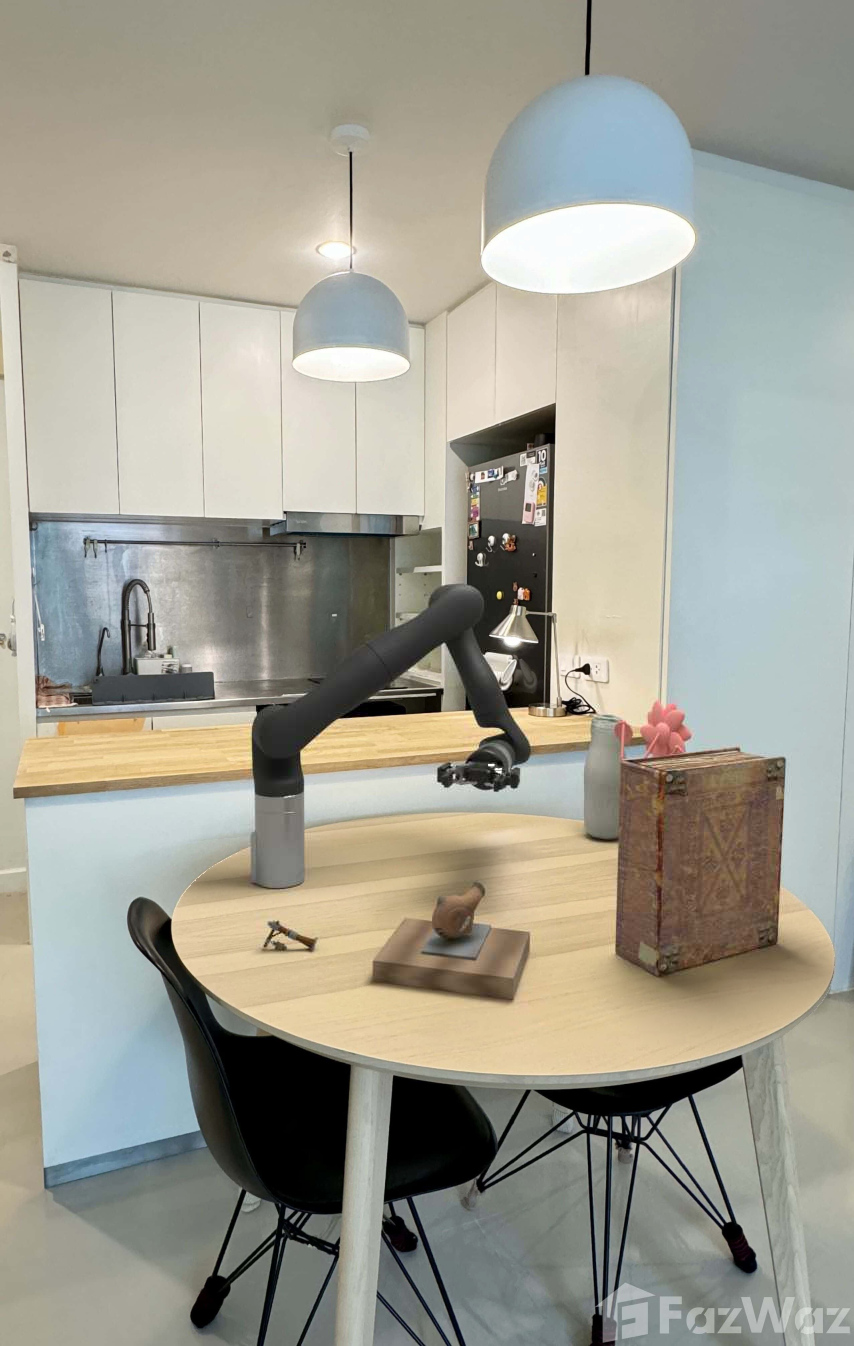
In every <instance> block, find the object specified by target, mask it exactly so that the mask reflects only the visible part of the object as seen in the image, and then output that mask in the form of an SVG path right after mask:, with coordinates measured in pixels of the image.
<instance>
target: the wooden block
mask: <svg viewBox="0 0 854 1346" xmlns="http://www.w3.org/2000/svg"><path fill="white" fill-rule="evenodd" d="M492 926H493V925H492V924H484V923H477V922H473V926H472V931H471V933H468V934H466V935H463V936H461V937H458V938H455V939H445V938H442V937H440V936H439V935H437V934H436V932H435V931H434V929H433V926H432V920H426V919H419V918H410V917H404V918H403V919H402V921H401V923H399V925H398V927H396V929H395V930H394V931H393V933H392V935H390V937H389V938H388V939H387V941H386V942H385V943H384V945H383V946H382V948H381V949H380V950H379V951H378V953H377V954H376V955H375V957H374V958H373V959H372V982H379V983H386V984H392V985H393V984H394V985H400V986H408V987H417V988H424V989H431V990H438V991H446V992H453V993H461V994H467V995H469V994H470V995H477V996H483V997H490V998H498V999H505V1000H512V1001H513V1000H514V999H515V995H516V993H517V990H518V987H519V984H520V981H521V979H522V978H521V977H522V974H523V972H524V969H525V967H526V963H527V960H528V958H529V954H530V950H531V949H530V948H531V947H530V946H531V932H530V931H526V930H525V931H524V930H516V929H509V928H508V929H506V928H499V927H492Z"/></svg>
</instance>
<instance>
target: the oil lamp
mask: <svg viewBox="0 0 854 1346" xmlns="http://www.w3.org/2000/svg"><path fill="white" fill-rule="evenodd" d="M485 895H486V888H485V887H484V885H483V884H482V883H481V882H478V881H474V882H473V884H472V885H471V887H470V888H469V889H468V890H467V891H466V892H465V893H464V894H462V895H454V894H453V895H447V896H445V895H440V896H439V897H438V899H437V901H436V902H437V903H436V906H435V908H434V910H433V913H432V916H431V921H432V926H433V929H434V931H435V932H436V934H437V935H439V936H440V937H442V938H445V939H455V938H458V937H461V936H463V935H466V934H468V933H471V931H472V926H473V923H474V921H475V912H476V910H477V908H478V906H479V904H480V902H481V900H482V899H483V898H484V896H485Z"/></svg>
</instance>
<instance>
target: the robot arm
mask: <svg viewBox="0 0 854 1346" xmlns="http://www.w3.org/2000/svg"><path fill="white" fill-rule="evenodd" d="M427 605H428V606H427V607H426V609H424V610H423V611H421V612H420V613H419V614H418V615H416V616H414V617H413V618H411V619H410V620H408V621H406V622H403V623H401V624H400V625H396V626H395V627H393V628H391V629H388V630H386V631H384V632H382V633H380V634H377V635H375V636H374V637H372V638H370V639H368V640H367V641H365V642H364V643H362V644H361V645H360V646H358V647H357V648H355V649H354V650H352V651H351V652H349V653H348V654H347V655H346V656H344V657H343V658H342V659H341V660H340V661H338V663H337V664H336V665H335V666H333V668H332V669H331V670H330V671H329V672H328V673H327V674H326V675H325V677H324V678H323V679H322V680H321V682H319V683H318V684H317V685H316V686H315V687H314V688H313V689H311V690H310V691H309V692H307V693H306V694H304V695H303V696H301V697H300V698H297V699H296V700H295V701H293V702H291V703H289V704H288V705H282V704H281V705H280V704H275V705H269V706H266V707H264V708H263V709H261V710H260V711H259V712H258V713H257V714H256V715H255V716H254V720H253V722H252V725H251V760H252V761H251V762H252V763H251V766H252V767H251V768H252V777H253V786H254V788H253V789H254V790H253V791H254V830H253V832H251V834H250V876H251V877H250V879H251V881H250V882H251V883H252V884H257V885H258V886H260V887H263V888H269V889H284V888H291V887H294V886H298V885H300V884H302V883H303V882H304V881H305V878H306V877H305V876H306V873H305V872H306V866H305V865H306V864H305V863H306V862H305V861H306V860H305V858H306V856H305V854H306V853H305V850H306V848H305V847H306V846H305V844H306V843H305V835H306V834H305V776H304V774H303V772H304V771H303V769H302V760H301V758H302V757H301V751H302V750H303V749H305V748H306V747H307V746H308V745H309V744H310V743H311V742H313V741H314V739H316V738H317V737H318V736H319V735H320V734H321V733H322V732H324V730H326V729H328V727H329V726H330V725H332V724H333V723H334V722H335V721H337V720H338V719H340V718H341V717H344V716H345V715H346V714H347V713H349V712H351V711H353V710H355V708H357V707H359V706H360V705H362V704H363V703H364V702H365V701H367V700H369V699H370V698H372V697H373V696H375V695H376V694H378V693H379V692H381V691H383V690H384V689H385V688H386V687H388V686H389V685H391V684H392V683H393V682H395V681H396V680H397V679H398V678H400V677H401V676H403V675H404V674H405V673H406V672H408V671H409V670H410V669H411V668H412V667H414V666H416V664H418V663H419V662H420V661H421V660H422V659H424V658H425V657H426V656H428V655H429V654H431V652H432V651H434V650H435V649H438V648H439V647H440V646H441V645H443V644H444V645H445V646H446V648H447V650H448V653H449V654H450V657H451V659H452V661H453V663H454V665H455V668H456V670H457V672H458V675H459V677H460V679H461V683H462V685H463V687H464V690H465V694H466V697H467V700H468V702H469V705H470V708H471V712H472V714H473V716H474V719H475V721H476V724H477V726H478V727H480V728H481V729H482V728H483V729H499V730H501V731H502V732H503V733H499V734H495V735H491V736H488V737H485V738H482V739H481V740H480V742H479V744H478V748H477V749H476V750H475V751H473V752H472V753H471V754H470V755H469V756H468V757H467V759H466V761H465V763H463V764H462V763H461V764H456V765H455V767H453V766H454V765H453V763H452V762H450V761H448V762H445V763H443V764H441V765H440V766H438V767H437V769H436V782H437V783H439V784H441V785H442V786H443V788H446V789H449V788H450V787H451V786H453V784H455V785H458V786H459V785H460V786H465V785H471V786H473V787H474V788H475V789H478V790H481V791H491V790H493V793H499V792H500V791H501V790H504V789H507V787H508V786H510V787H509V788H510V789H512V790H514V789H517V788H518V787H519V785H520V783H521V767H518V765H521V764H524V763H525V764H526V762H528V761H529V759H530V757H531V755H532V754H531V752H532V749H531V744H530V742H529V739H528V738H527V736H526V734H525V733H524V731H523V730H522V729H521V728H520V726H519V725H518V723H517V722H516V721H515V718H514V717H513V715H512V714H511V711H510V710H509V707H508V704H507V701H506V698H505V695H504V693H503V690H502V687H501V685H500V682H499V680H498V678H497V676H496V674H495V672H494V671H493V669H492V668H491V665H490V664H489V662H488V661H487V659H486V658H485V655H484V654H483V652H482V650H481V648H480V646H479V644H478V641H477V639H476V636H475V634H474V630H473V627H475V625H476V624H477V623H479V621H480V620H481V618H482V616H483V614H484V609H485V601H484V596H483V595H482V593H481V592H480V591H479V590H478V589H477V588H476V587H474V586H473V585H470V584H465V583H450V584H444V585H441V586H440V585H439V587H436V589H434V591H433V592H432V593H431V594H430V597H429V599H428V603H427ZM515 766H517V767H515ZM454 775H455V776H454Z"/></svg>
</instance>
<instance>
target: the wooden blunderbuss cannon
mask: <svg viewBox="0 0 854 1346" xmlns="http://www.w3.org/2000/svg"><path fill="white" fill-rule="evenodd" d="M267 926H269V929H271V931H270V932H269V934H268V936H267V938H266V939H265V941H264V943H263V948H264V949H266V948H268V946H269V944H270V943H271V945H272V946H274V949H275V950H276V949H278V950H279V951H283V950H284V951H285V950H287V949H288V947H287V945H286V943H285V942H280V940H279V939H278V940H277V941H276V940H273V941H272V938H274V937H276V936H278V935H280V934H283V935H284V937H287V938H288V939H291V940H293V941H297V942H299V943H301V944H302V945H304V946H306V947H307V948H308V949H309V952H310V953H312V952H313V951H314V949H315V946H316V944H317V942H318V939H319V937H317V936H315V937H314V938H311V937H307V936H304V935H301V934H299V932H297V931H294V930H293V929H290V928H289V927H288V928H286V927H285V926H283V925H282V923H280V920H276V921H275V920H274V919H273V921H271V920H269V921H268V922H267ZM275 932H276V933H275Z"/></svg>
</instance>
